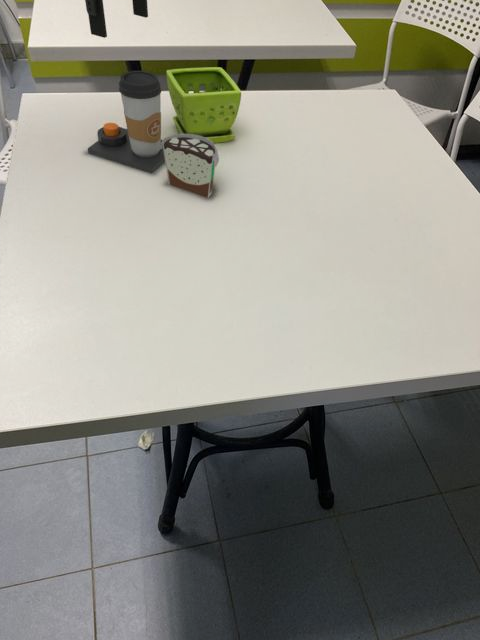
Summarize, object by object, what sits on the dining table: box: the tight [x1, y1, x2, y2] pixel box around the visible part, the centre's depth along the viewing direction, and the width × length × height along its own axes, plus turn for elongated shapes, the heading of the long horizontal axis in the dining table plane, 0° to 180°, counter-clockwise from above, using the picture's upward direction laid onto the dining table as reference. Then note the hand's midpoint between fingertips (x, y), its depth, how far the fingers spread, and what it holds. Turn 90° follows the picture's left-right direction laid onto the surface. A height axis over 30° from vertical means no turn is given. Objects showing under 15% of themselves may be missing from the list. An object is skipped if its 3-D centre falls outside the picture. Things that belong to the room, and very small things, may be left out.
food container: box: [161, 133, 220, 199], centre depth 101 cm, size 12×6×10 cm, turn 65°
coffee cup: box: [118, 70, 162, 157], centre depth 103 cm, size 8×8×15 cm
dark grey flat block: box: [87, 125, 166, 174], centre depth 110 cm, size 17×12×4 cm
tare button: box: [102, 122, 120, 136], centre depth 109 cm, size 3×3×2 cm
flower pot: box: [166, 66, 242, 144], centre depth 114 cm, size 14×14×13 cm
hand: (121, 25), depth 89 cm, fingers open, 13 cm apart
